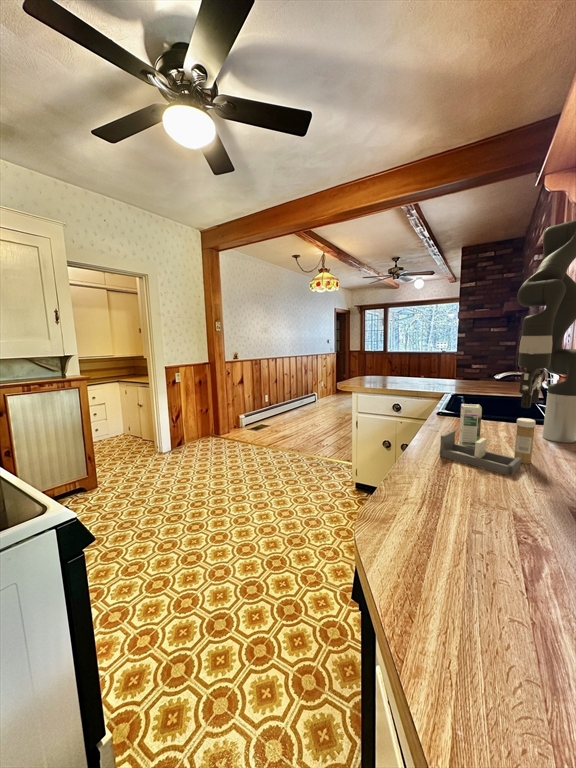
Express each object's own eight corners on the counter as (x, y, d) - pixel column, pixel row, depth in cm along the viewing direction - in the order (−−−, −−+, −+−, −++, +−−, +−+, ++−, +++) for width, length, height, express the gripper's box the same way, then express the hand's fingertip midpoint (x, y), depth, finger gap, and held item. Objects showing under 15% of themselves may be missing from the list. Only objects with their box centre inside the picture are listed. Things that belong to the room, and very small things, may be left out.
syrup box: (460, 446, 112) (463, 406, 109) (458, 440, 117) (461, 402, 115) (479, 447, 110) (482, 407, 107) (476, 442, 115) (479, 403, 113)
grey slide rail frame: (451, 449, 109) (452, 430, 108) (520, 467, 93) (522, 445, 92) (439, 455, 103) (440, 435, 102) (511, 476, 88) (513, 452, 87)
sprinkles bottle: (533, 461, 97) (538, 419, 95) (527, 465, 95) (532, 422, 93) (516, 457, 101) (520, 416, 99) (510, 460, 98) (514, 419, 96)
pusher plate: (481, 453, 100) (482, 437, 99) (485, 454, 99) (486, 438, 98) (474, 458, 96) (475, 442, 96) (478, 459, 96) (479, 443, 95)
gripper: (526, 349, 99) (521, 399, 102) (512, 352, 90) (507, 407, 93) (556, 350, 94) (550, 403, 96) (545, 353, 85) (539, 411, 87)
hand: (529, 405), depth 95 cm, fingers open, 8 cm apart
